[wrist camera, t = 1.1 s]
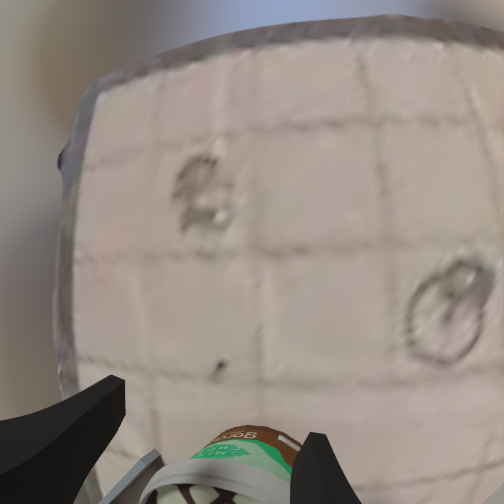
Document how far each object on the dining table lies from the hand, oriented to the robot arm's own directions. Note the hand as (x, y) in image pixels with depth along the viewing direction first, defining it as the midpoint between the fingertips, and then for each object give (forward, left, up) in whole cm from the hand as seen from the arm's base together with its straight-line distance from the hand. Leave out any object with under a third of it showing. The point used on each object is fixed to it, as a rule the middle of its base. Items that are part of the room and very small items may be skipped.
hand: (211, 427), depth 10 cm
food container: (-3, +8, -13) cm, 15 cm away
